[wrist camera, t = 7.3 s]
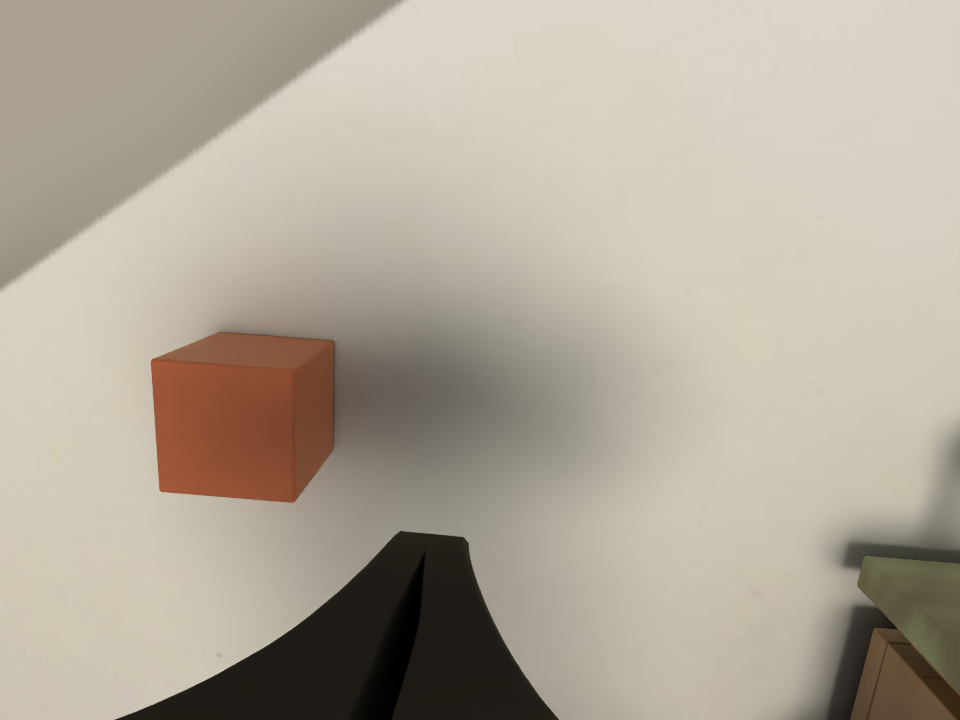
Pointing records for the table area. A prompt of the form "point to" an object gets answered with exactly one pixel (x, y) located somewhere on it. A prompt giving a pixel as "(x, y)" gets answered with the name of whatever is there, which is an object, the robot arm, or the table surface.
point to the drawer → (911, 641)
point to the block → (243, 415)
